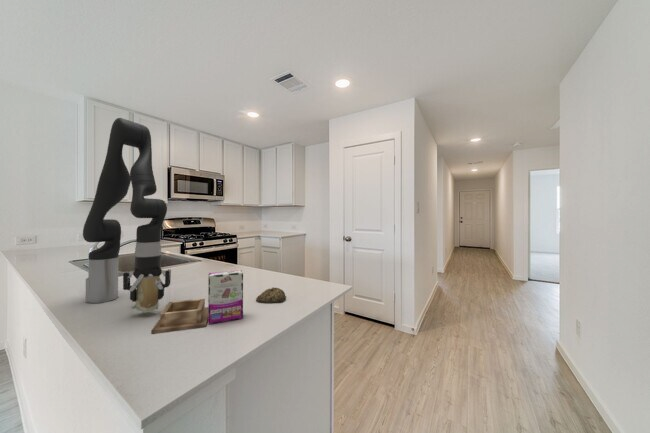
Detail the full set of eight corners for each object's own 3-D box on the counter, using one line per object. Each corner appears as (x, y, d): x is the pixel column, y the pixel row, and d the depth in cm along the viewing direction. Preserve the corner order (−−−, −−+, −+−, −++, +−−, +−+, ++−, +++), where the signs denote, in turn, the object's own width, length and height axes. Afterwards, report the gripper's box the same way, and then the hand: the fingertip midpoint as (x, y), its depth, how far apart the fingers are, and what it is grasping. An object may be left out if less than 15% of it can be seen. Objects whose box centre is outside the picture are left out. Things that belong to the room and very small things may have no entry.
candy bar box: (241, 313, 90) (241, 269, 90) (243, 319, 86) (244, 272, 85) (207, 319, 85) (208, 272, 85) (207, 325, 80) (208, 275, 80)
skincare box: (135, 309, 87) (135, 275, 86) (147, 305, 91) (148, 273, 91) (146, 313, 84) (147, 278, 84) (159, 308, 88) (160, 275, 88)
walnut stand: (151, 333, 74) (151, 317, 74) (164, 314, 88) (164, 300, 88) (206, 326, 79) (206, 311, 79) (210, 309, 93) (210, 296, 93)
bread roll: (283, 304, 100) (283, 292, 100) (253, 304, 101) (253, 292, 101) (288, 294, 113) (288, 283, 113) (262, 293, 113) (262, 283, 113)
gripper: (173, 252, 93) (172, 294, 93) (128, 253, 88) (127, 298, 88) (168, 255, 86) (167, 301, 86) (119, 256, 81) (118, 305, 81)
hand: (147, 299), depth 87 cm, fingers closed on skincare box, 7 cm apart
